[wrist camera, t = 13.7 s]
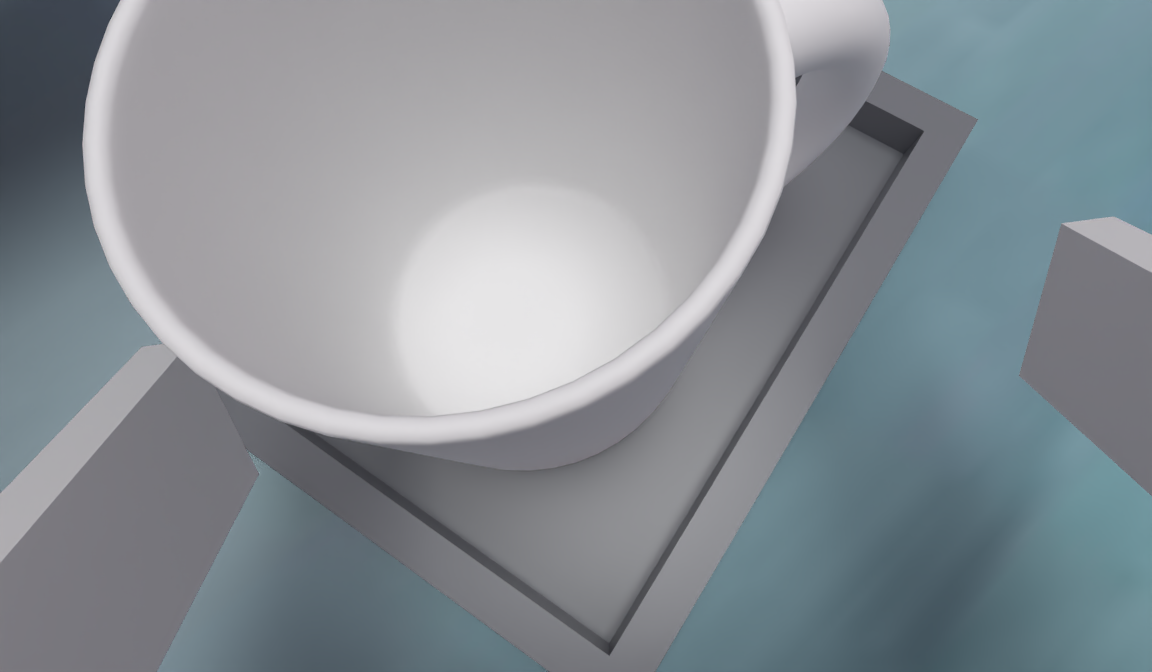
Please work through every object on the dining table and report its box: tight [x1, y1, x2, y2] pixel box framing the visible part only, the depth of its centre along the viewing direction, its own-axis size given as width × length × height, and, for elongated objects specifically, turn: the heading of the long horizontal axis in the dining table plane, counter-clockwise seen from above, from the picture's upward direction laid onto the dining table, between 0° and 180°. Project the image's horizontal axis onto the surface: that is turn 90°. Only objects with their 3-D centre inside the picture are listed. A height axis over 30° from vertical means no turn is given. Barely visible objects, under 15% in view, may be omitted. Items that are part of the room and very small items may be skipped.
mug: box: [82, 0, 890, 471], centre depth 13 cm, size 12×8×10 cm
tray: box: [215, 71, 978, 672], centre depth 18 cm, size 13×17×2 cm
